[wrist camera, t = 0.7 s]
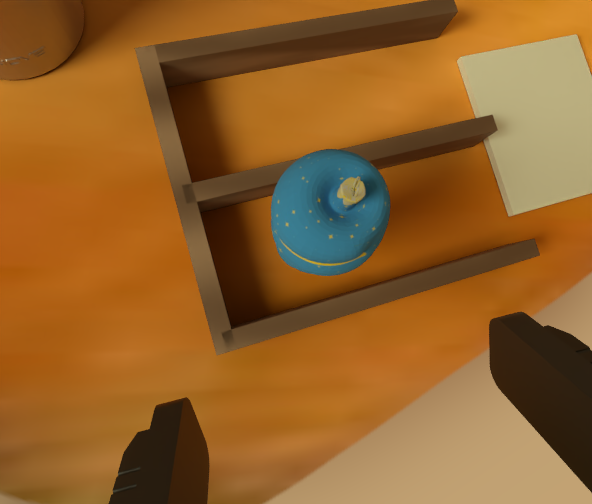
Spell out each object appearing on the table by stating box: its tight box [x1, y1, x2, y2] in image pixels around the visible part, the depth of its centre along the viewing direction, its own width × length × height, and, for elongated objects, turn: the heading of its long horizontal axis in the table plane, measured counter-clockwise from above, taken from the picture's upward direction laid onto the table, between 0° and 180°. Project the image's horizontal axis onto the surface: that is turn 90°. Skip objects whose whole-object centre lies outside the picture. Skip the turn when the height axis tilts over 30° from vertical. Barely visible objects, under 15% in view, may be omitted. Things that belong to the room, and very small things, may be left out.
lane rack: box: [135, 0, 540, 355], centre depth 28 cm, size 20×23×3 cm
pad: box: [457, 34, 592, 216], centre depth 33 cm, size 13×11×1 cm
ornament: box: [271, 149, 390, 276], centre depth 21 cm, size 5×5×15 cm
